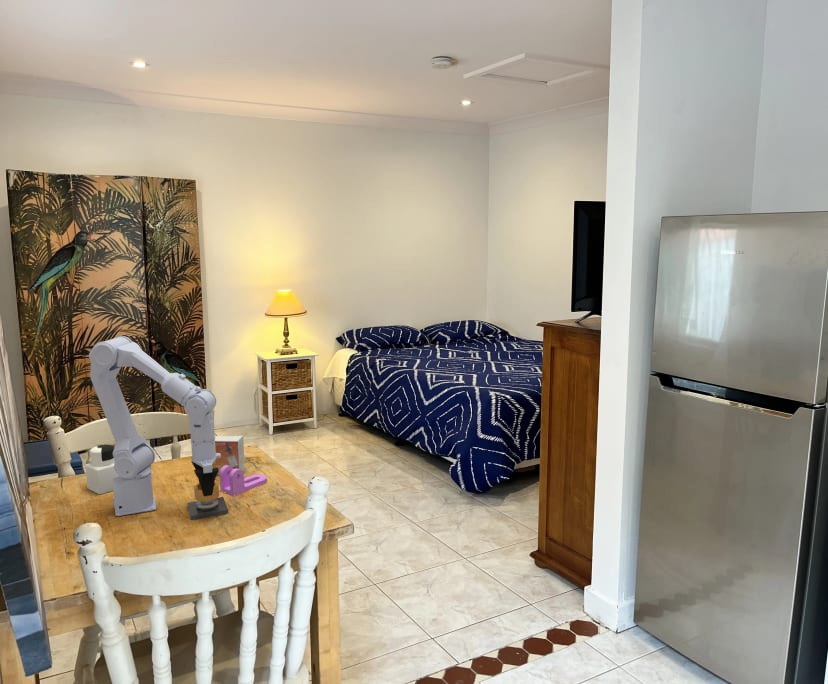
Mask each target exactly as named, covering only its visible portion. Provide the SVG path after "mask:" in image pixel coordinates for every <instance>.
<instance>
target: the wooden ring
mask: <svg viewBox="0 0 828 684" xmlns="http://www.w3.org/2000/svg"><path fill="white" fill-rule="evenodd" d="M219 485H220V484H219V483H218V482H217V481H215V482H214V489H213V494H212V495H210V496H203V493H202V489H201V485H200V483H199V482H198V483H197V484H196V483H195V484H194V485H193V490H194V500H195V501H204V502H205V501H212V500H214V499H217V498H219V497H220V490H219V489H220V486H219Z"/></svg>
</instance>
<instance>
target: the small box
mask: <svg viewBox="0 0 828 684" xmlns="http://www.w3.org/2000/svg"><path fill="white" fill-rule="evenodd" d="M244 441H245V440H244V435H215V448H216V453H220V454H221V457H220V458H217V459H216V460H215V462H214V463H213V465H212V468H218V469H219V471H218V474H217V476H220V470H221V468H222V467H223V466H225V465H228V466H231V467H233V469H240V470H242V471H243V472H244V470H245V468H246V467H245V443H244ZM226 474H227V473H226Z"/></svg>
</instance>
